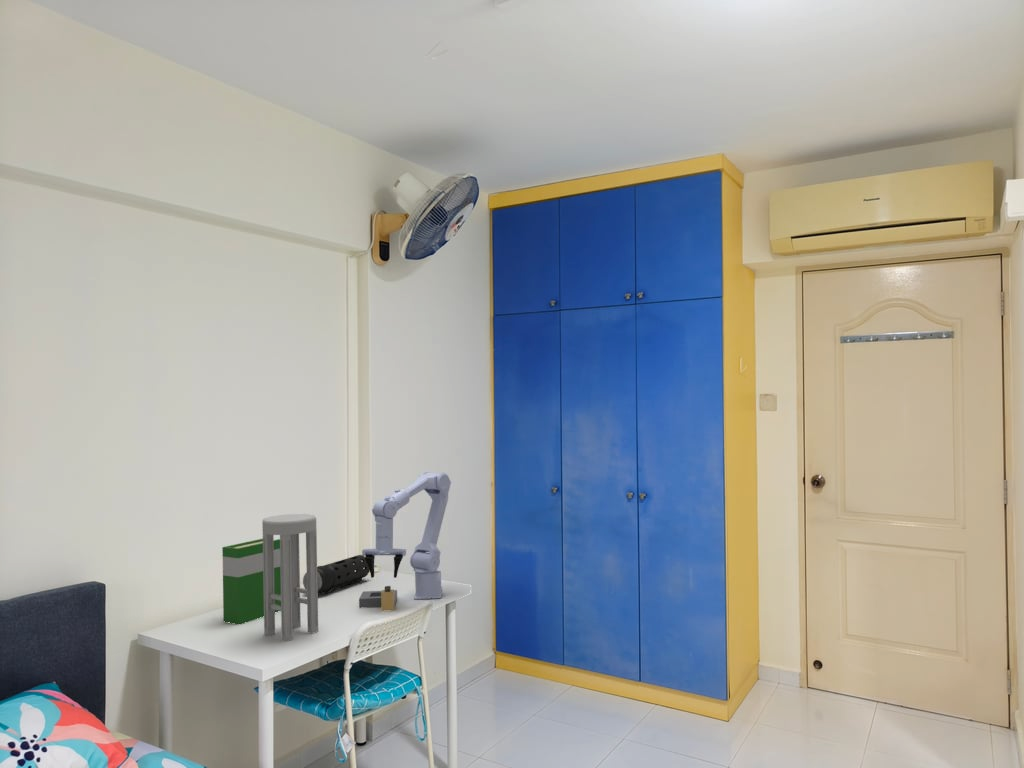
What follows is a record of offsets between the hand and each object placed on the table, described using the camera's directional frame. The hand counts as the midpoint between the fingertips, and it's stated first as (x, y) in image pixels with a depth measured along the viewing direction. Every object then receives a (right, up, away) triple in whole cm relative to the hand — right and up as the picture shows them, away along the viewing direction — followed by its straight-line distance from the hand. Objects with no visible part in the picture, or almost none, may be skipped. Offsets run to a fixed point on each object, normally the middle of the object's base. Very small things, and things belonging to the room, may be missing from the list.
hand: (384, 577), depth 247 cm
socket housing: (-3, -11, +7) cm, 14 cm away
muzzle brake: (-23, -13, +30) cm, 40 cm away
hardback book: (-42, -12, -4) cm, 44 cm away
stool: (-24, -11, -24) cm, 36 cm away
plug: (+1, -11, 0) cm, 11 cm away
